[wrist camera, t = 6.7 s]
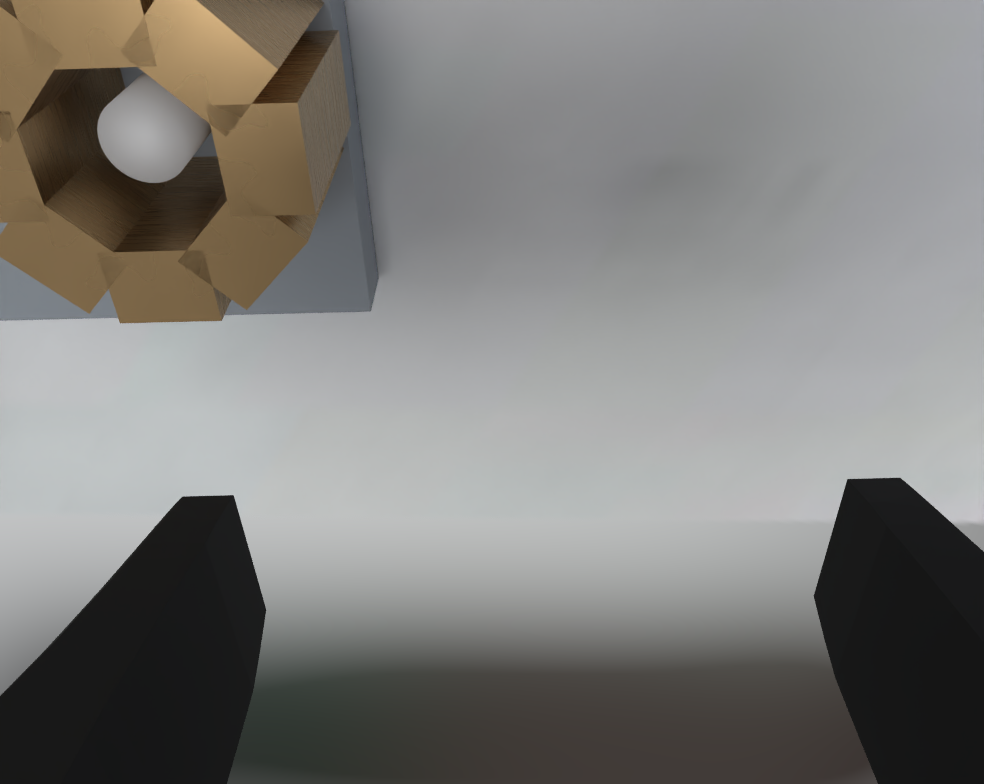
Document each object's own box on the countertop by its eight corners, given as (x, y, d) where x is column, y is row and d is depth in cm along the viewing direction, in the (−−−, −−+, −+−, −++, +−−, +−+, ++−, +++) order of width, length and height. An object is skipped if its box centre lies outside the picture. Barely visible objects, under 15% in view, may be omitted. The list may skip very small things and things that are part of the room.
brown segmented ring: (323, -88, 14) (273, -42, 11) (362, 214, 17) (332, 317, 14) (1, -77, 14) (-142, -30, 11) (99, 221, 18) (9, 326, 14)
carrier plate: (311, -262, 14) (237, -270, 10) (378, 277, 20) (349, 408, 16) (-288, -238, 14) (-596, -237, 10) (-46, 288, 20) (-180, 420, 16)
